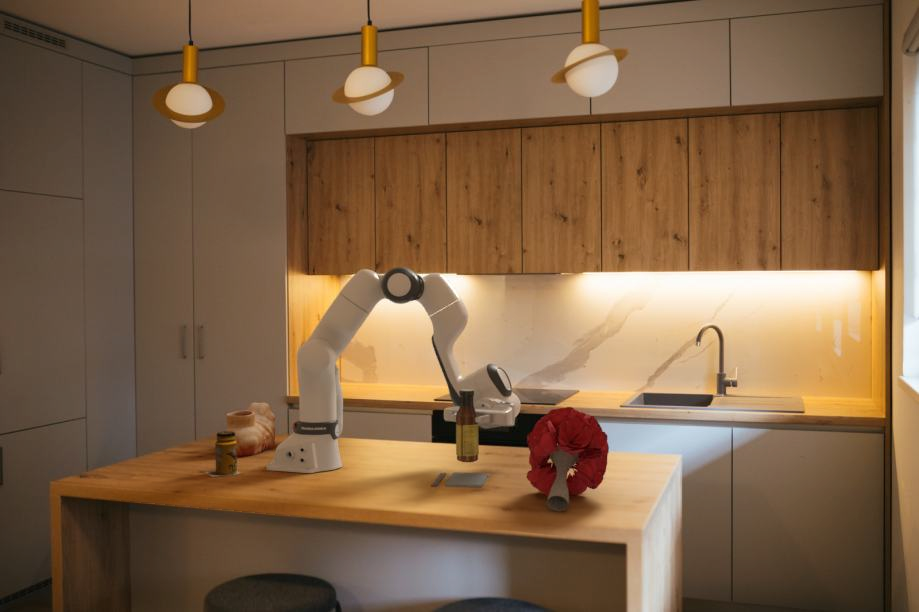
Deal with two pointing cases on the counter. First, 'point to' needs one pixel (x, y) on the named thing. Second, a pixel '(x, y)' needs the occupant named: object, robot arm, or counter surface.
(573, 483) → the bouquet
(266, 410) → the ceramic vessel
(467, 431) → the sauce bottle
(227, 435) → the condiment
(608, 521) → the counter surface
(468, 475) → the mat
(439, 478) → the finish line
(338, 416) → the glass bottle
